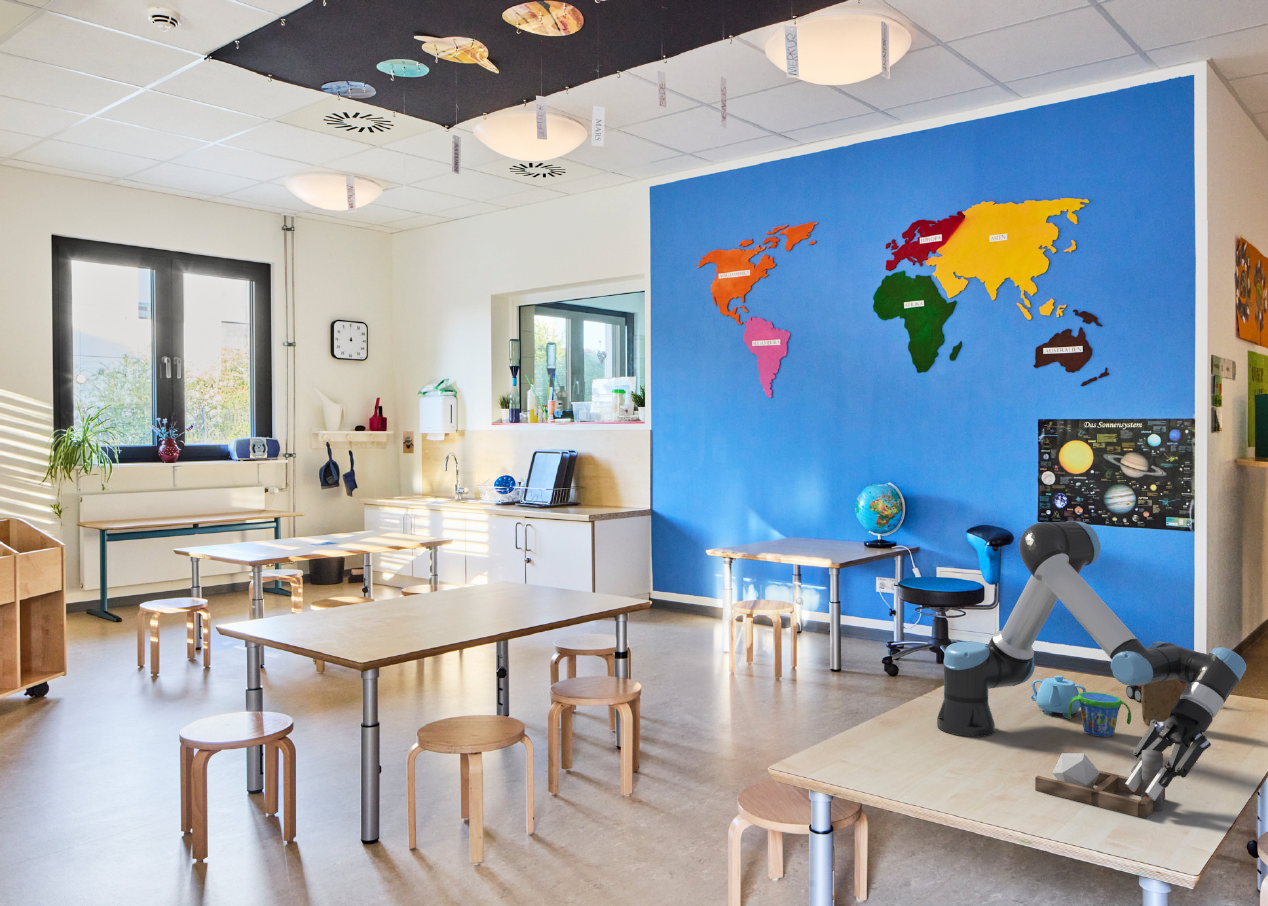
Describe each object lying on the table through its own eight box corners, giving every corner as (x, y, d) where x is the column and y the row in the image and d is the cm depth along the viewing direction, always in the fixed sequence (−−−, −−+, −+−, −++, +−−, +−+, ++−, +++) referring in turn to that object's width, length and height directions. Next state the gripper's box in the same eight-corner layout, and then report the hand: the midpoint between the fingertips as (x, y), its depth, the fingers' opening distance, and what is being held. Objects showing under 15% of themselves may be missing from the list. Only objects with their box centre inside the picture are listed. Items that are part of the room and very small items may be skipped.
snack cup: (1128, 731, 257) (1129, 695, 257) (1133, 743, 247) (1134, 704, 247) (1066, 725, 263) (1066, 689, 263) (1069, 735, 253) (1069, 698, 253)
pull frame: (1035, 790, 212) (1035, 737, 212) (1058, 773, 223) (1059, 723, 222) (1151, 820, 195) (1152, 763, 195) (1171, 800, 206) (1172, 746, 206)
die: (1094, 804, 206) (1111, 763, 210) (1057, 781, 208) (1074, 741, 211) (1077, 803, 214) (1093, 765, 218) (1041, 782, 216) (1058, 743, 219)
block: (1139, 725, 263) (1139, 655, 263) (1145, 720, 268) (1146, 650, 268) (1182, 733, 256) (1183, 661, 256) (1188, 727, 261) (1189, 656, 261)
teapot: (1066, 708, 282) (1065, 671, 282) (1095, 719, 268) (1094, 680, 268) (1027, 710, 280) (1026, 672, 280) (1055, 721, 266) (1054, 682, 266)
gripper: (1242, 730, 199) (1185, 818, 193) (1169, 709, 215) (1115, 788, 210) (1224, 708, 197) (1166, 795, 191) (1153, 688, 213) (1097, 768, 208)
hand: (1139, 792), depth 200 cm, fingers closed on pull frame, 4 cm apart
